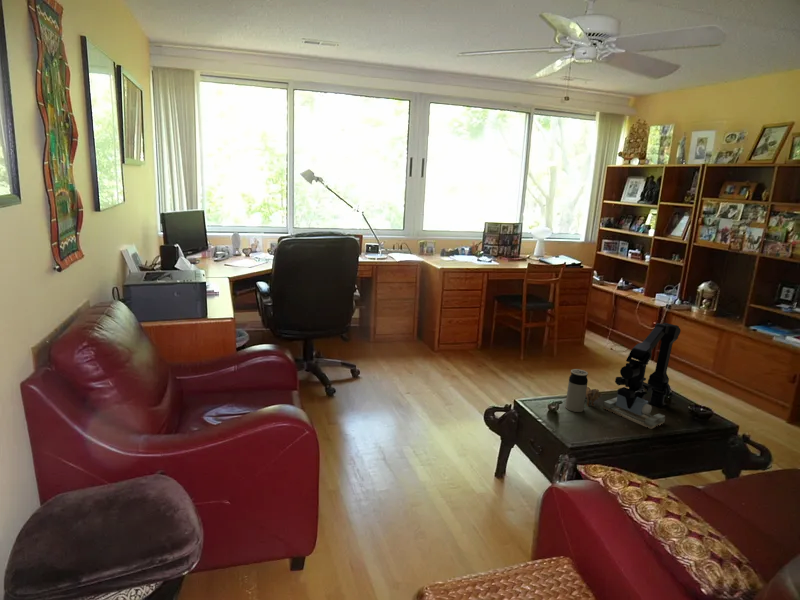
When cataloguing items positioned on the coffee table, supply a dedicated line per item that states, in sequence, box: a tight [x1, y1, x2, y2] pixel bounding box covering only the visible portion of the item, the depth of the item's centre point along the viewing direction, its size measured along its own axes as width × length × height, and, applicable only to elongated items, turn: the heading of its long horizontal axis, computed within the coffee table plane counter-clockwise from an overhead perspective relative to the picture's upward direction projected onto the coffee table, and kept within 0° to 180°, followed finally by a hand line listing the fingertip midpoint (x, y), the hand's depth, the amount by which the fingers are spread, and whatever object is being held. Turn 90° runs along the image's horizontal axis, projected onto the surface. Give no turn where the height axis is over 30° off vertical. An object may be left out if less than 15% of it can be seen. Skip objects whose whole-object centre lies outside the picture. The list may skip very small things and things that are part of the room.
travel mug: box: [565, 368, 589, 413], centre depth 230 cm, size 8×8×18 cm
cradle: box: [602, 396, 666, 430], centre depth 228 cm, size 11×23×4 cm, turn 35°
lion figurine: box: [585, 386, 603, 407], centre depth 239 cm, size 15×5×9 cm, turn 10°
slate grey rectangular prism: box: [616, 394, 653, 416], centre depth 227 cm, size 4×14×6 cm, turn 35°
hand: (631, 407), depth 228 cm, fingers closed on slate grey rectangular prism, 4 cm apart
